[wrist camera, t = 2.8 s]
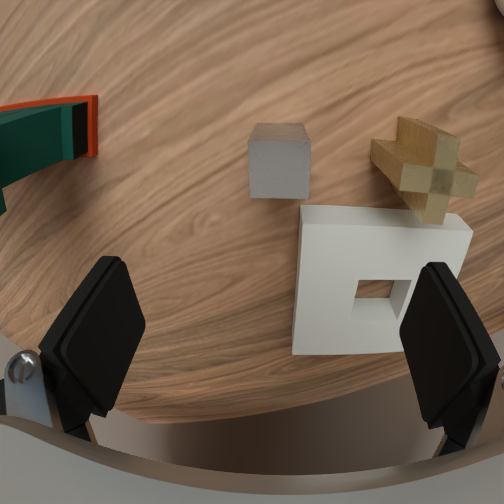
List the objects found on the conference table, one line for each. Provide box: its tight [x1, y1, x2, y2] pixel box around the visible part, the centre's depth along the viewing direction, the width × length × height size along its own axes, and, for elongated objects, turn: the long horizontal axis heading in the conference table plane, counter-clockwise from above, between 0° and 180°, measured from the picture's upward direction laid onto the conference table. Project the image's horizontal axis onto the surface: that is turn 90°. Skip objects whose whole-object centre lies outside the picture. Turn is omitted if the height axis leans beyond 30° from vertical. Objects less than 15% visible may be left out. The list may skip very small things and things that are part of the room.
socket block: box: [292, 205, 473, 355], centre depth 31 cm, size 18×18×4 cm
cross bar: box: [370, 116, 479, 225], centre depth 21 cm, size 7×7×8 cm
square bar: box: [248, 123, 311, 199], centre depth 22 cm, size 4×4×8 cm
